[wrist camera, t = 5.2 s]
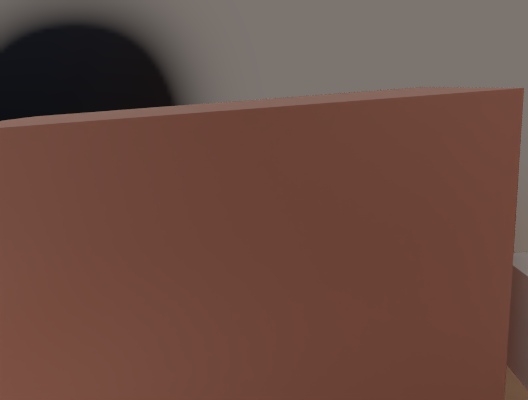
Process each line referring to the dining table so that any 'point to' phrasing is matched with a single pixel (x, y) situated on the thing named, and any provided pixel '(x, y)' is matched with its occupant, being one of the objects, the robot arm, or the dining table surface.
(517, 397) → the dining table surface
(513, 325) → the robot arm
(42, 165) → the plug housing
